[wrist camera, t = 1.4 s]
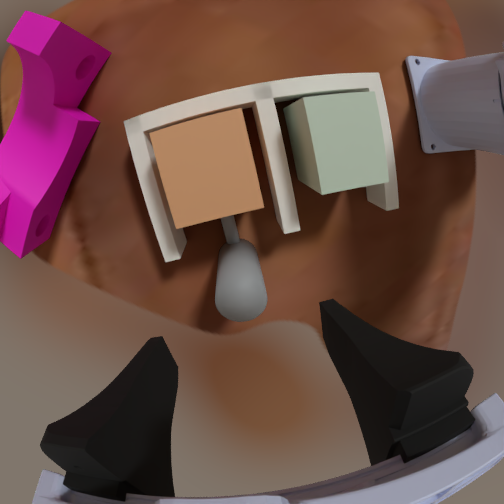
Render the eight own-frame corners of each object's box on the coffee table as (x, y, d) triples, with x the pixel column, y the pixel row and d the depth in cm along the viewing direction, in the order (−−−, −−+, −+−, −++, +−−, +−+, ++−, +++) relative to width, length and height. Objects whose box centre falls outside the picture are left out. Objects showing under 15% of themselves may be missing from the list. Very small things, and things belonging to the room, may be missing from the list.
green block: (338, 101, 17) (374, 91, 12) (350, 169, 19) (389, 181, 14) (282, 108, 17) (302, 97, 12) (297, 179, 19) (322, 194, 14)
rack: (359, 80, 16) (378, 72, 14) (378, 198, 20) (399, 208, 17) (139, 123, 17) (123, 121, 14) (174, 245, 20) (165, 262, 17)
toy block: (50, 237, 19) (-4, 277, 12) (5, 201, 18) (-51, 228, 11) (137, 66, 15) (91, 33, 8) (80, 38, 14) (25, 10, 7)
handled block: (238, 117, 17) (241, 106, 12) (272, 266, 21) (286, 311, 16) (171, 135, 17) (146, 132, 12) (213, 280, 21) (208, 328, 16)
